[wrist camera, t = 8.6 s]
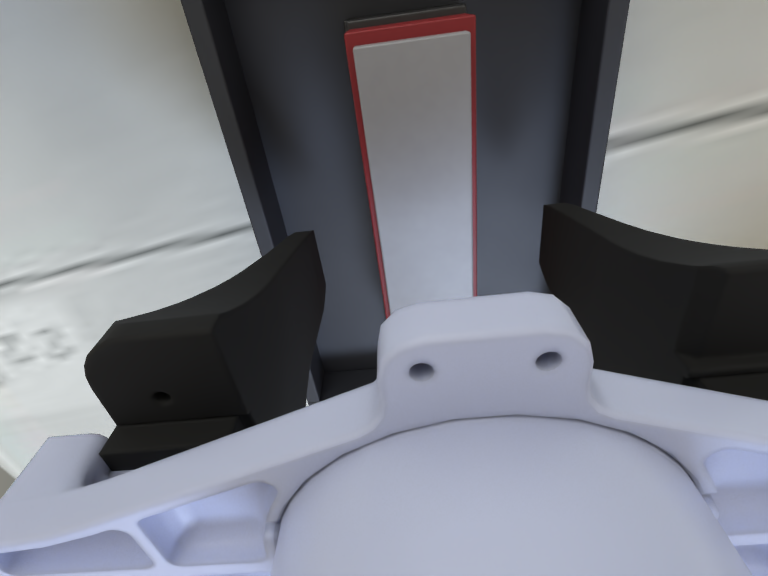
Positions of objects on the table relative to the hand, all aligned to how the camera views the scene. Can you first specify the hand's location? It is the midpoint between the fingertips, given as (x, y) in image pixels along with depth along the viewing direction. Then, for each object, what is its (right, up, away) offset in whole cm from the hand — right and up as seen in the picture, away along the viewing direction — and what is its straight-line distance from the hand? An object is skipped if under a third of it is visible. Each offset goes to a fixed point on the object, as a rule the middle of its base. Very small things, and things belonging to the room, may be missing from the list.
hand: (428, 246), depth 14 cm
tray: (0, +2, +4) cm, 5 cm away
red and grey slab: (0, +2, +3) cm, 4 cm away
